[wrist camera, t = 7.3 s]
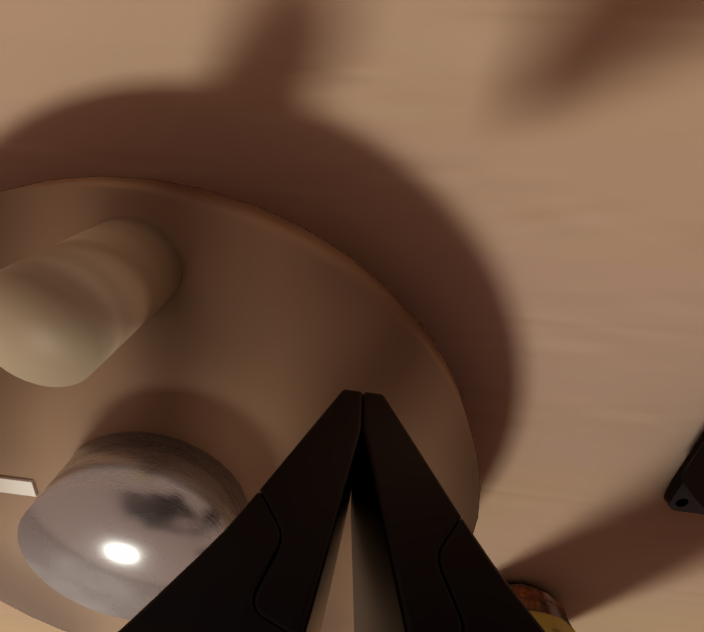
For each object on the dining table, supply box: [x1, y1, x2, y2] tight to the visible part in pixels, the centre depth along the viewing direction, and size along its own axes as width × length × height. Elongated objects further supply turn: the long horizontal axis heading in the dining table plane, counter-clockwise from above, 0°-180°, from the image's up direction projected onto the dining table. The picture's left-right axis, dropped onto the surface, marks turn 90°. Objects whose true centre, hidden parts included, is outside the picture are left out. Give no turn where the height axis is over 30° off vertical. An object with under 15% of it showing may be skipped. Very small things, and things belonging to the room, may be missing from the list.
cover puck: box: [17, 431, 248, 620], centre depth 15 cm, size 7×7×2 cm
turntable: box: [0, 176, 480, 632], centre depth 16 cm, size 24×24×6 cm
